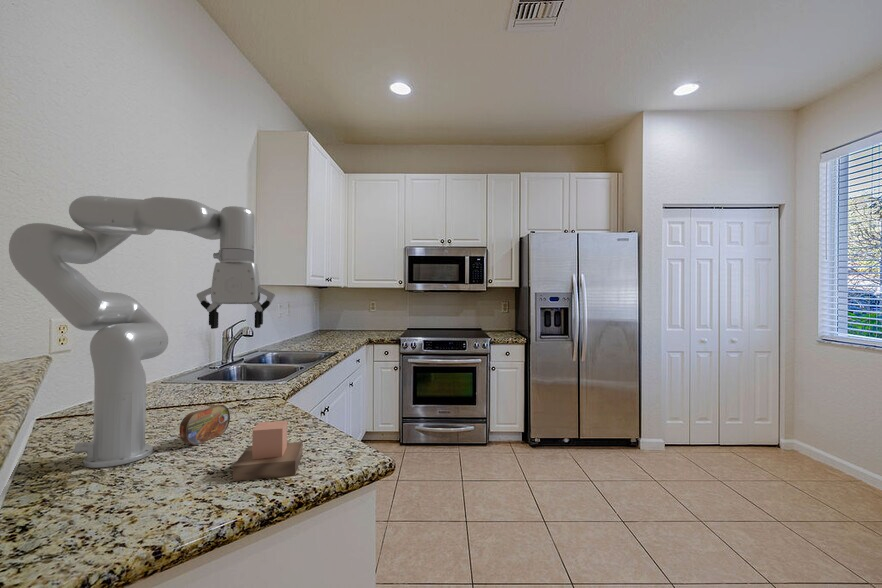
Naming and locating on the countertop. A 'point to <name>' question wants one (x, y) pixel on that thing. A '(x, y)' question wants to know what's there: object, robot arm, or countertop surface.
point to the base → (268, 464)
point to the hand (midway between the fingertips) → (236, 328)
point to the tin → (204, 424)
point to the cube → (269, 439)
